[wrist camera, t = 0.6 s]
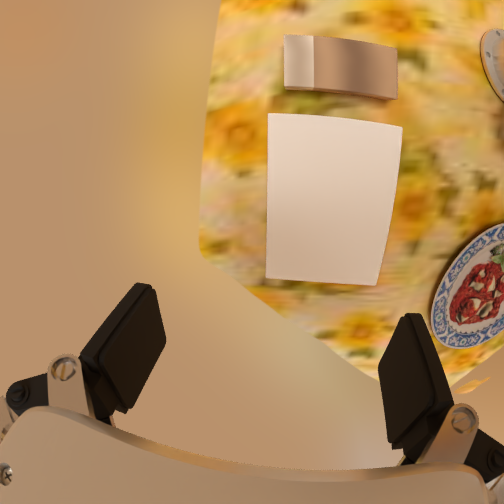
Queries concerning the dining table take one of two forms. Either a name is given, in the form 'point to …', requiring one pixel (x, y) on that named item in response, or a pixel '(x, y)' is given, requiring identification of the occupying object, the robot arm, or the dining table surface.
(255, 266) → the dining table surface
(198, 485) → the robot arm
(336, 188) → the white rectangular board
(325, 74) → the brown and beige box
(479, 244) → the ceramic plate
